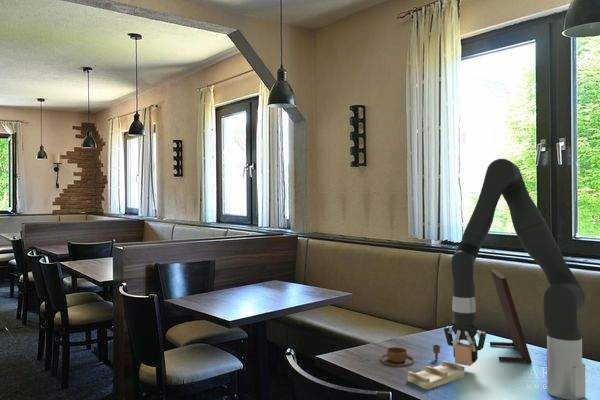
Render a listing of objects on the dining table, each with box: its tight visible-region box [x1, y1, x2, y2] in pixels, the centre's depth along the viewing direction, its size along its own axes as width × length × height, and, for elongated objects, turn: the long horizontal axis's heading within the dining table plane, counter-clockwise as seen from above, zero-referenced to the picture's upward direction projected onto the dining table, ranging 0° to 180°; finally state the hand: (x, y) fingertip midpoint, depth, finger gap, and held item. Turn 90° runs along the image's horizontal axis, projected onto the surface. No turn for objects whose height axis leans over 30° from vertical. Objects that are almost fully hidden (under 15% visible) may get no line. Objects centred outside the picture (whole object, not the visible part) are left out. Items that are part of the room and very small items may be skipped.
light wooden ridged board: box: [407, 359, 465, 391], centre depth 157 cm, size 8×18×3 cm, turn 125°
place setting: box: [379, 344, 441, 368], centre depth 173 cm, size 18×20×6 cm
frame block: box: [454, 340, 476, 367], centre depth 164 cm, size 5×6×6 cm
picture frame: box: [489, 268, 533, 365], centre depth 182 cm, size 21×11×30 cm, turn 168°
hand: (465, 360), depth 164 cm, fingers closed on frame block, 5 cm apart
